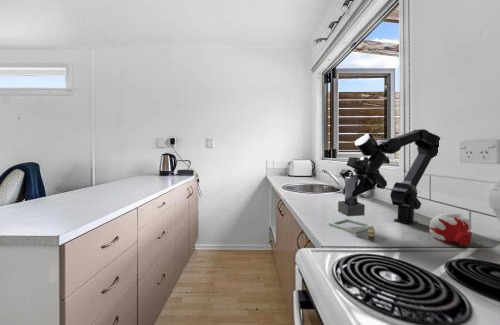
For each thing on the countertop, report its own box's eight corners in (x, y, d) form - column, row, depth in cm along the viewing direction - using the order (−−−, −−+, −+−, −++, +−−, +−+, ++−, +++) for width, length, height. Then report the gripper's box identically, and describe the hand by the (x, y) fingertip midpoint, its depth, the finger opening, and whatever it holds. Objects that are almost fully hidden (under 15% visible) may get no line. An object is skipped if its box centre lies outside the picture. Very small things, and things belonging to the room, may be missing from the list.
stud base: (367, 235, 83) (367, 223, 83) (388, 241, 77) (388, 229, 77) (355, 239, 79) (355, 227, 79) (376, 246, 73) (376, 233, 73)
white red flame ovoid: (455, 234, 82) (488, 258, 68) (418, 231, 85) (443, 254, 70) (459, 209, 81) (493, 228, 67) (421, 207, 83) (447, 225, 69)
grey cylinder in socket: (353, 210, 94) (354, 176, 93) (364, 215, 87) (365, 178, 86) (338, 211, 93) (338, 176, 92) (347, 216, 86) (348, 178, 85)
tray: (346, 222, 98) (346, 218, 98) (372, 230, 88) (372, 225, 88) (328, 227, 92) (328, 222, 92) (355, 235, 82) (355, 230, 82)
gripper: (343, 149, 99) (320, 177, 96) (381, 149, 81) (354, 183, 78) (358, 168, 102) (336, 196, 99) (398, 171, 84) (372, 205, 81)
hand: (348, 194), depth 89 cm, fingers closed on grey cylinder in socket, 4 cm apart
